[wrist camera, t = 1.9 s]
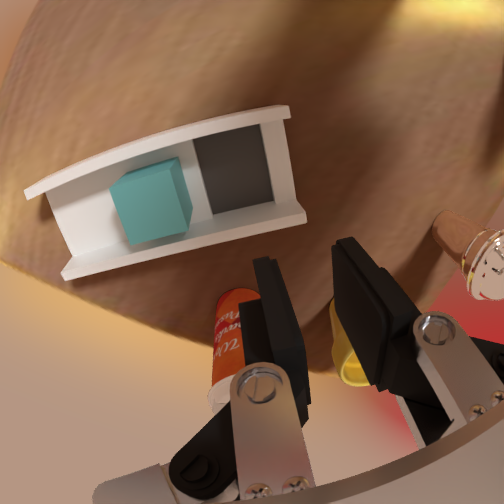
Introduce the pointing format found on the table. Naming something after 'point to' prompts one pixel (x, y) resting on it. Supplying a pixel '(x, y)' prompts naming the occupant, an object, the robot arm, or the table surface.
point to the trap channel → (198, 184)
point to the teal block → (153, 201)
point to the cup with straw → (473, 253)
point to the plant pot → (345, 354)
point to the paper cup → (227, 345)
